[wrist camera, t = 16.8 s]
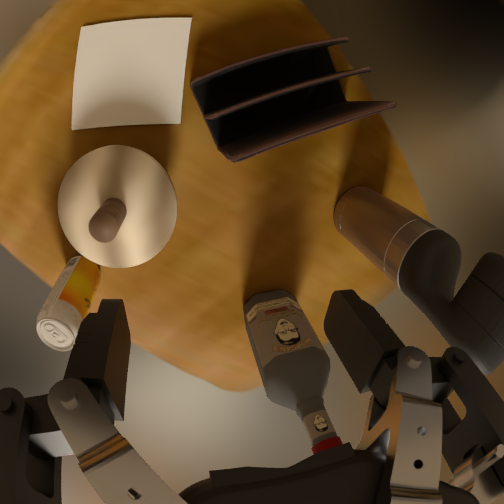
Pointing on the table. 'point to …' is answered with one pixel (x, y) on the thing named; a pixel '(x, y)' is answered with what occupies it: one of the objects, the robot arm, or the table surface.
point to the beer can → (68, 303)
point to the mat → (130, 73)
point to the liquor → (291, 362)
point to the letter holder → (278, 99)
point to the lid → (117, 206)
